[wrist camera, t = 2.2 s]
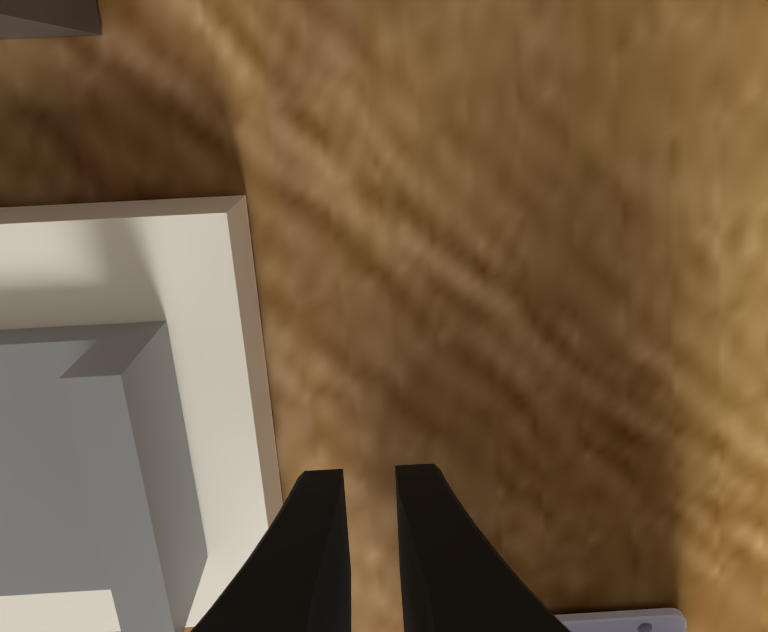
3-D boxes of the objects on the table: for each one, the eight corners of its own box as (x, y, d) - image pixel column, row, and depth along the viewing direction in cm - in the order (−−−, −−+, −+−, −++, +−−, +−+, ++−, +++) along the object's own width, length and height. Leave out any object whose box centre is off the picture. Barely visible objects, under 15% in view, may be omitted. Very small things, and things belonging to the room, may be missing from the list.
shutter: (166, 320, 15) (120, 375, 12) (208, 556, 17) (178, 648, 14) (-110, 336, 15) (-220, 393, 12) (-29, 571, 17) (-106, 665, 14)
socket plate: (245, 195, 16) (226, 212, 14) (289, 560, 21) (280, 621, 18) (-177, 216, 16) (-268, 238, 14) (-48, 580, 20) (-101, 645, 18)
